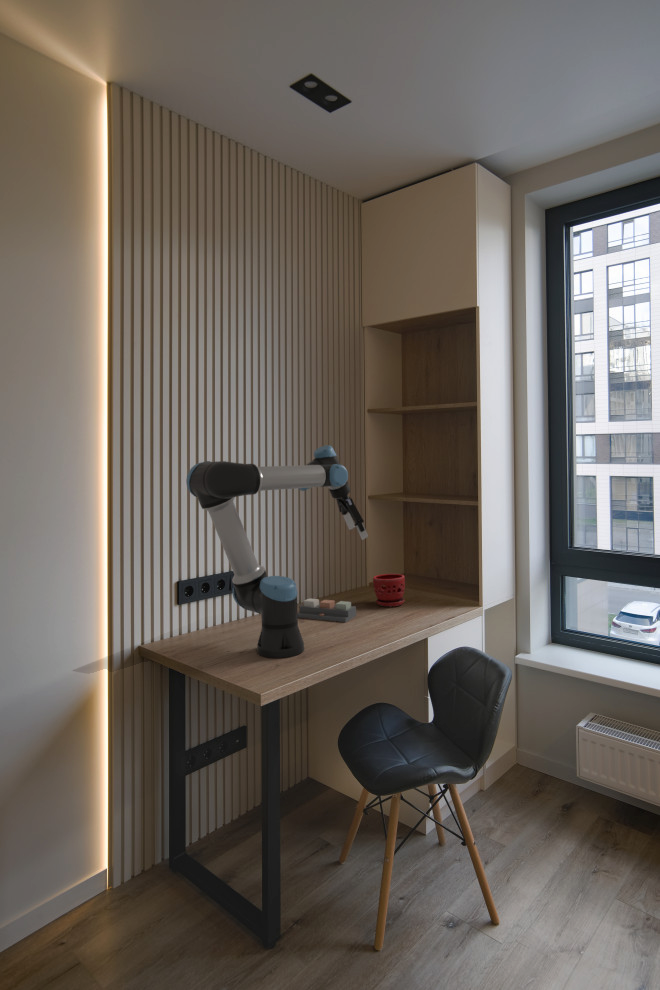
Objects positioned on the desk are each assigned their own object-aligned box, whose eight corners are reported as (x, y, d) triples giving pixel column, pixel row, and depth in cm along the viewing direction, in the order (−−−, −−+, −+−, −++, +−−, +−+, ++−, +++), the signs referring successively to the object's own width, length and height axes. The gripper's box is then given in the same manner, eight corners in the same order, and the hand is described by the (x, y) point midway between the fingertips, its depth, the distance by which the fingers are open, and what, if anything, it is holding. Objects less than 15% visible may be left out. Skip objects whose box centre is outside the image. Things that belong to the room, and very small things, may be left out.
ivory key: (313, 609, 239) (313, 601, 239) (304, 608, 241) (303, 600, 241) (319, 606, 243) (318, 599, 243) (309, 605, 245) (309, 598, 245)
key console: (345, 622, 229) (345, 612, 229) (296, 617, 239) (296, 607, 238) (356, 616, 238) (355, 606, 237) (308, 611, 247) (307, 602, 247)
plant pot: (405, 600, 260) (404, 572, 260) (405, 608, 247) (404, 578, 247) (374, 600, 262) (373, 573, 261) (373, 608, 249) (372, 579, 248)
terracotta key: (329, 610, 236) (329, 603, 236) (319, 609, 238) (319, 602, 238) (334, 608, 240) (334, 600, 240) (324, 607, 242) (324, 599, 242)
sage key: (346, 612, 233) (346, 604, 233) (335, 611, 235) (335, 603, 235) (351, 609, 237) (350, 601, 237) (340, 608, 239) (340, 601, 239)
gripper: (358, 487, 217) (379, 537, 225) (335, 474, 240) (355, 520, 248) (340, 497, 216) (361, 547, 223) (319, 482, 239) (339, 528, 246)
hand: (358, 533), depth 235 cm, fingers open, 13 cm apart
